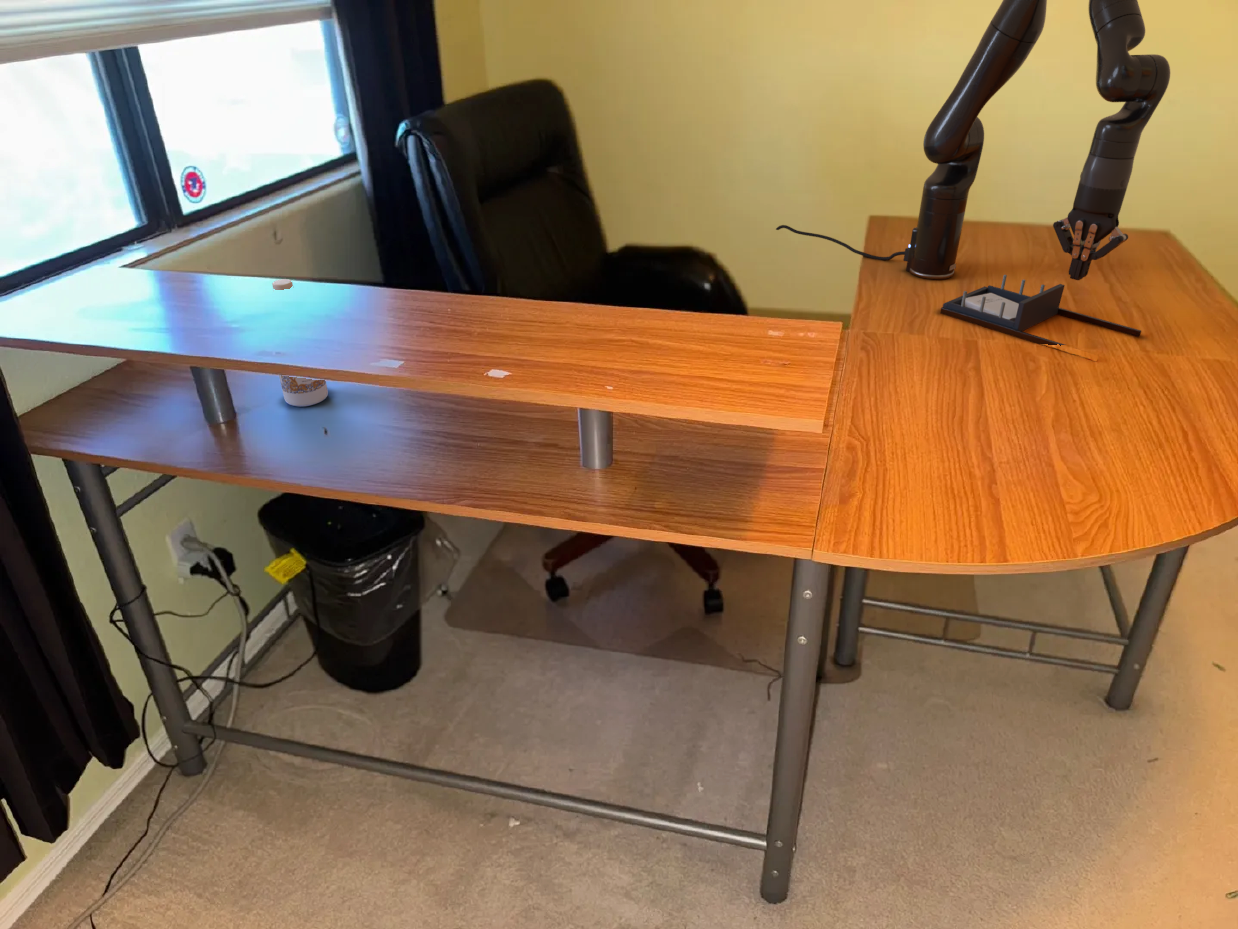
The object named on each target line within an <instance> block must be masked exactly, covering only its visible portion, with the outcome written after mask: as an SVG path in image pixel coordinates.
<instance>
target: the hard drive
mask: <svg viewBox="0 0 1238 929" xmlns="http://www.w3.org/2000/svg"><path fill="white" fill-rule="evenodd" d="M983 297H986V300H985V304H984V309H983V312H985V313H988V314H992V315H995V316H998V317H999V314H1000V309H1001V305H1002V302H1005V307H1004V312H1003V316H1002V318H1005V319H1008V320H1012V321H1015V319H1016V314H1017V310H1018V306H1019V304H1018V303H1016V302H1013V301H1011V300H1008V299H1006V298H1003V297H1000V296H998V295H996V294H993V293H988V294H983V295H978V296H973V297H968V298H966V300H965V305H964V306H965V307H968V308H972V309H975V310H978V311H980V307H981V302H982V298H983Z"/></svg>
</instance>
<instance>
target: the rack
mask: <svg viewBox="0 0 1238 929" xmlns="http://www.w3.org/2000/svg"><path fill="white" fill-rule="evenodd" d="M1007 277H1008V275H1007V274H1003V276H1002V281H1001V285H1000V287H998V286H993V285H990V284H989V285H988V286H982V287H980V288H977V289H974V290H973V291H970V292H968V291H966V290H964V291H963V294H962V295H961V296H958V297H956V298H953V299H951V300H949V301H946V302H944V303H942V307H944V308H947V309H951V310H954V311H957V312H960V313H964V314H967V315H970V316H973V317H977V318H980V319H983V320H987V321H990V322H993V323H996V324H1000V325H1003V326H1006V327H1009V328H1013V329H1016V330H1019V331H1022V332H1025V330H1027V329H1030V328H1032V327H1034V326H1036V325H1038V324H1040V323H1043V322H1044V321H1046V320H1048V319H1050V318H1052V317H1055V316H1056V315H1058V314H1057V313H1058V309H1059V308H1060V305H1061V302H1062V297H1063V293H1064V290H1065V284H1062V283H1059V284H1056V285H1055V286H1052V287H1050V288H1048V289H1045V286H1046V285H1045V284H1041V285H1040V290H1039V293H1037V294H1035V295H1032V296H1029V295H1027V294H1023V293H1024V289H1025V284H1026V279H1022V280H1021V284H1020V288H1019V292H1015V291H1012V290H1008V289H1005V285H1006V283H1007V282H1006V281H1007ZM988 293H993V294H996V295H998V296H1000V297H1003V298H1006V299H1008V300H1011V301H1013V302H1016V303H1018V304H1019V306H1018V310H1017V314H1016V319H1015V321H1012V320H1008V319H1005V318H1002V316H1003V312H1004V307H1005V302H1002V305H1001V309H1000V314H999V317H998V316H995V315H992V314H988V313H985V312H983V309H984V304H985V300H986V297H983V298H982V302H981V307H980V311H978V310H975V309H972V308H968V307H965V306H964V305H965V300H966V298H968V297H973V296H978V295H983V294H988Z"/></svg>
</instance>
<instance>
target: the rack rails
mask: <svg viewBox="0 0 1238 929" xmlns="http://www.w3.org/2000/svg"><path fill="white" fill-rule="evenodd" d="M939 312H940V314H941V315H944V316H947V317H951V318H954V319H957V320H961V321H962V322H967V323H970V324H973V325H976V326H979V327H982V328H986V329H989V330H992V331H996V332H999V333H1002V334H1006V335H1009V336H1012V337H1015V338H1018V339H1021V340H1025V341H1028V342H1031V343H1034V344H1036V345H1037V344H1038V345H1040V344H1048V345H1057V344H1059V345H1060V346H1061V345H1066V344H1065V343H1061V342H1058V341H1055V340H1051V339H1049V338H1045V337H1041V336H1038V335H1036V334H1032V333H1030V332H1025V331H1019V330H1016V329H1013V328H1009V327H1006V326H1003V325H1000V324H996V323H993V322H990V321H987V320H983V319H980V318H977V317H973V316H970V315H967V314H964V313H960V312H957V311H954V310H951V309H947V308H944V307H943V306H942V307H941V308H940V311H939ZM1056 315H1058V316H1062V317H1066V318H1070V319H1072V320H1076V321H1080V322H1084V323H1087V324H1090V325H1094V326H1098V327H1101V328H1104V329H1108V330H1110V331H1111V330H1112V331H1115V332H1119V333H1122V334H1126V335H1129V336H1133V337H1136V338H1140V337H1141V333H1142V329H1137V328H1134V327H1131V326H1127V325H1122V324H1119V323H1117V322H1116V323H1115V322H1113V321H1110V320H1105V319H1101V318H1097V317H1094V316H1090V315H1087V314H1084V313H1080V312H1077V311H1073V310H1070V309H1065V308H1063V307H1059V309H1058V313H1057V314H1056Z"/></svg>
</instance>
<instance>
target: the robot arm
mask: <svg viewBox="0 0 1238 929" xmlns="http://www.w3.org/2000/svg"><path fill="white" fill-rule="evenodd" d="M1047 4H1048V0H1002V1H1001V3H1000V5H999V7H998V9H997V10H996V12H995V13H994V15H993V17H992V18H991V20H990V22H989V23H988V26H987V27H986V29H985V31H984V33H983V34H982V36H981V39H980V40H979V43H978V45H977V46H976V49H975V50H974V52H973V54H972V55H971V57H970V59H969V61H968V62H967V64H966V66H965V68H964V69H963V72H962V74H961V75H960V77H959V79H958V81H957V83H956V85H955V86H954V88H953V89H952V91H951V93H950V94H949V96H948V97H947V98H946V100H945V101H944V103H943V105H942V106H941V108H940V109H939V111H938V112H937V113H936V115H935V116H934V118H933V119H932V120H931V122H930V123H929V125H928V127H927V129H926V131H925V134H924V138H923V152H924V156H925V157H926V158H927V160H928V161H930V162H931V163H933V164H936V167H935V168H934V170H933V172H932V173H931V174H930V175H929V176H928V177H927V178H926V179H925V180H924V182H923V188H922V194H921V200H920V206H919V212H918V220H917V224H916V227H913V229H912V230H911V235H910V242H909V244H908V247H906V248H905V249H904V251H897V252H893V253H892V254H891V255H889V256H877V255H874V254H869V253H867V252H863V251H861V250H857V249H855V248H853V247H852V246H851V245H849V244H847V243H845V242H843V241H840V240H839V239H836V238H834V237H830V236H827V235H824V234H819V233H813V232H807V231H801V230H797V229H795V228H793V227H791V226H789V225H786V224H782V225H779V226H777V227H776V228H775V230H776V231H779V230H781V229H786V230H788V231H790V232H792V233H794V234H798V235H800V236H801V235H802V236H809V237H814V238H819V239H824V240H827V241H830V242H833V243H835V244H838V245H839V246H842V247H844V248H846V249H847V250H849V251H850V252H851V253H854V254H856V255H859V256H862V257H865V258H869V259H871V260H878V261H890V260H892V259H894V258H895V257H897V256H902V255H903V261H904V262H906V268H905V271H906V272H908V273H910V274H911V275H912V276H915V277H918V278H920V279H921V278H922V279H927V280H947V279H951V278H952V277H954V274H955V269H956V268H957V263H956V261H957V258H958V252H959V246H960V241H961V236H962V231H963V230H962V229H963V225H964V220H965V215H966V210H967V209H966V208H967V203H968V199H969V193H970V190H971V188H972V186H973V184H974V182H975V180H976V178H977V174H978V169H979V165H980V162H981V157H982V152H983V150H984V149H983V148H984V143H985V127H984V125H983V122H982V120H981V119H980V118H979V117H978V116H979V114H980V113H981V112H982V110H983V109H984V107H985V106H986V105H987V103H988V102H989V101H990V100H991V99H992V98H994V96H995V95H996V94H997V93H998V91H1000V90H1001V89H1002V88H1003V87H1004V86H1005V85H1006V84H1007V83H1008V82H1009V80H1011V79H1012V78H1013V77H1014V75H1016V73H1017V72H1018V71H1019V70H1020V68H1022V66H1023V65H1024V63H1025V61H1026V60H1027V58H1028V57H1029V55H1030V53H1031V52H1032V51H1033V49H1034V47H1035V45H1036V43H1037V42H1038V40H1039V38H1040V37H1041V35H1042V33H1043V30H1044V28H1045V23H1046V16H1047ZM1087 9H1088V10H1087V11H1088V17H1089V18H1088V19H1089V22H1090V26H1091V29H1092V33H1093V36H1094V40H1095V44H1096V67H1095V68H1096V69H1095V87H1096V90H1097V92H1098V94H1099V96H1100V97H1101V98H1102V99H1103V100H1105V101H1106V102H1109V103H1123V105H1122V107H1121V108H1120V110H1119V111H1117V112H1116V113H1113V114H1111V115H1108V116H1105V117H1103V118H1101V119H1100V120H1099V121H1097V123H1096V125H1095V126H1096V127H1095V129H1094V132H1093V136H1092V139H1091V144H1090V146H1089V150H1088V154H1087V157H1086V159H1085V162H1084V164H1083V167H1082V171H1081V172H1080V176H1079V182H1078V185H1077V189H1076V192H1075V196H1074V200H1073V203H1072V204H1073V205H1072V208H1071V210H1070V211H1069V212H1068V214H1067V217H1065V218H1062V219H1059V220H1056V221H1054V222H1053V223H1052V227H1053V229H1054V232H1055V234H1056V236H1057V239H1058V241H1059V244H1060V246H1061V248H1062V251H1063V253H1065V254H1069V255H1070V256H1071V262H1070V265H1069V269H1068V275H1070V276H1069V279H1071V280H1075V281H1080V280H1082V279H1084V278H1086V277H1087V276H1088V274H1089V270H1090V268H1091V267H1090V266H1091V263H1092V261H1097V260H1099V259H1102V258H1104V257H1105V256H1107V255H1108V254H1110V253H1111V252H1113V251H1114V250H1115V249H1116V248H1118V247H1119V246H1121V245H1122V244H1123V243H1125V242H1126V241H1127V240H1128V239H1129V235H1128V234H1127V233H1123V232H1122V231H1121V229H1120V228H1119V226H1120V220H1119V215H1120V212H1121V209H1122V207H1123V203H1124V200H1125V196H1126V193H1127V189H1128V186H1129V183H1130V180H1131V176H1132V172H1133V168H1134V162H1135V161H1134V160H1135V157H1136V153H1137V151H1138V147H1139V144H1140V140H1141V137H1142V133H1143V131H1144V130H1145V127H1146V126H1147V124H1148V123H1149V122H1150V120H1151V119H1152V116H1153V114H1154V112H1155V111H1156V109H1157V108H1158V106H1159V104H1160V102H1161V101H1162V99H1163V97H1164V95H1165V94H1166V92H1167V90H1168V87H1169V84H1170V79H1171V66H1170V62H1169V61H1168V60H1167V58H1166V57H1164V55H1161V54H1153V53H1151V54H1130V53H1129V52H1130V51H1132V50H1134V49H1135V48H1137V47H1138V46H1139V45H1140V44H1141V43H1142V42H1143V40H1144V38H1145V36H1146V26H1145V22H1144V18H1143V15H1142V12H1141V8H1140V4H1139V1H1138V0H1088V8H1087ZM1070 229H1071V230H1070ZM1109 235H1110V236H1109ZM1108 236H1109V237H1108ZM1106 237H1108V241H1109V242H1107V243H1106V244H1104V245H1103V246H1102V247H1100V248H1099V249H1098V247H1099V246H1100V244H1101V241H1103V240H1104V239H1105V238H1106ZM1097 249H1098V250H1097Z"/></svg>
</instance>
